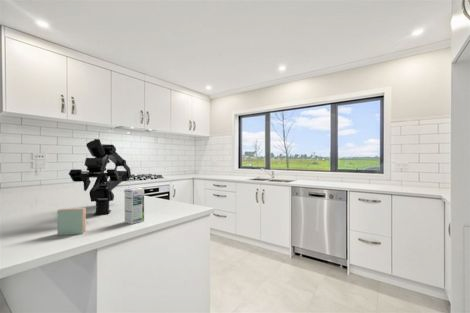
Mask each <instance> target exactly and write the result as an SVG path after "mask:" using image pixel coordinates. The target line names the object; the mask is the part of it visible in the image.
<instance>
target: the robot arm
mask: <svg viewBox="0 0 470 313" xmlns="http://www.w3.org/2000/svg"><path fill="white" fill-rule="evenodd" d="M86 147H87V150H88V152H89V153H90V155H91V156H92V157H86V158H85V160H84V166H85V167H86V171H85V170H82V169H77V168H76V169H75V168H74V169H70V170H69V172H68V175H69V177H70V179H71V180H72V182H77V183H79V182H82V183H83V191H84V192H86V191H87V190H88V189H89V186H90V185H91V183H92V182H91V180H90V179H91V178H93V179H95V178H96V180H95V182H94V184H93V185H92V187H91V189H90V190H89V193H88V194H89V198H90V199H89V200H90V202H95V212H94V213H93V214H92V215H93V216H98V215H99V216H100V215H109V214H110V213H111V212H112V210H111V209H110V202H113V201H114V199H115V194H114V193H113V191H112V190H114V189H115V188H116V187H117V186H119V184H121V183H122V182H128V181H129V180H130V179H131V177H132V172H131V168H130V167H129V165H128V164H127V161H126V159H124V158H123V157H122V156H120V154H119V153H117V148H116V146H115V145H114V144H109V143H108V144H104V143H103V144H102V142H101V140H100V138H94V139H93V140H91V141H88V142H87V143H86ZM110 161H111V163H113V164H114V168H113V169H111V168H109V169H107V165H108V164H110ZM118 167H123V168H124V169H125V170H118ZM105 171H106V172H105Z"/></svg>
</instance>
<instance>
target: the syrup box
mask: <svg viewBox="0 0 470 313" xmlns="http://www.w3.org/2000/svg"><path fill="white" fill-rule="evenodd" d="M123 194H124V222H125V223H127V224H129V225H134V224H137V223H140V222H145V188H144V187H137V186H136V187H132V188H131V187H130V188H124V193H123Z"/></svg>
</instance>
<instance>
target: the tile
mask: <svg viewBox="0 0 470 313" xmlns="http://www.w3.org/2000/svg"><path fill="white" fill-rule="evenodd" d="M86 211H87V209H86V207H70V208H66V207H65V208H59V209H57V221H56V222H57V223H56V224H57V233H56V234H57V236H65V235H67V236H68V235H79V234H80V235H82V234H84V233H86V226H87V225H86V224H87V223H86V222H87V221H86V217H87V216H86V215H87V214H86V213H87V212H86Z"/></svg>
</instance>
